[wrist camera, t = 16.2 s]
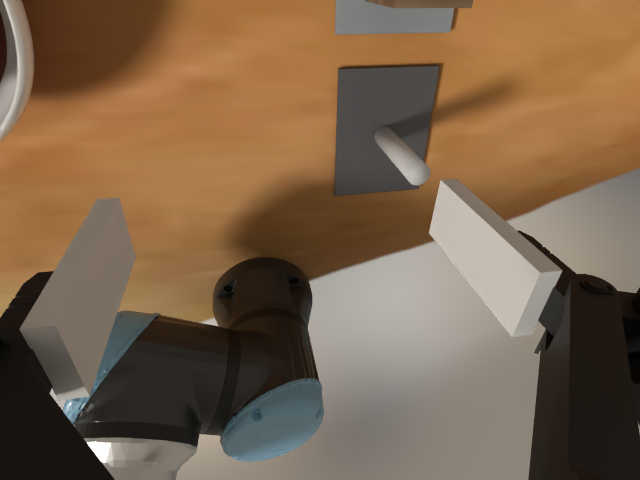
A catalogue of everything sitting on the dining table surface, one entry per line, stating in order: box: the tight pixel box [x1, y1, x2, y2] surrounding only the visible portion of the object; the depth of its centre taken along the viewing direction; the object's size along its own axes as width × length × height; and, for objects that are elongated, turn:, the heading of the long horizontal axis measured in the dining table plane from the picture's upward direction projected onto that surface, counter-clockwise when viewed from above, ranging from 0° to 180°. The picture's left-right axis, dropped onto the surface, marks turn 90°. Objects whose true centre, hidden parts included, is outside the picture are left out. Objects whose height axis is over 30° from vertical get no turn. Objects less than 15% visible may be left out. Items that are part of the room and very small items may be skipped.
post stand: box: [334, 65, 440, 196], centre depth 44 cm, size 16×12×12 cm
